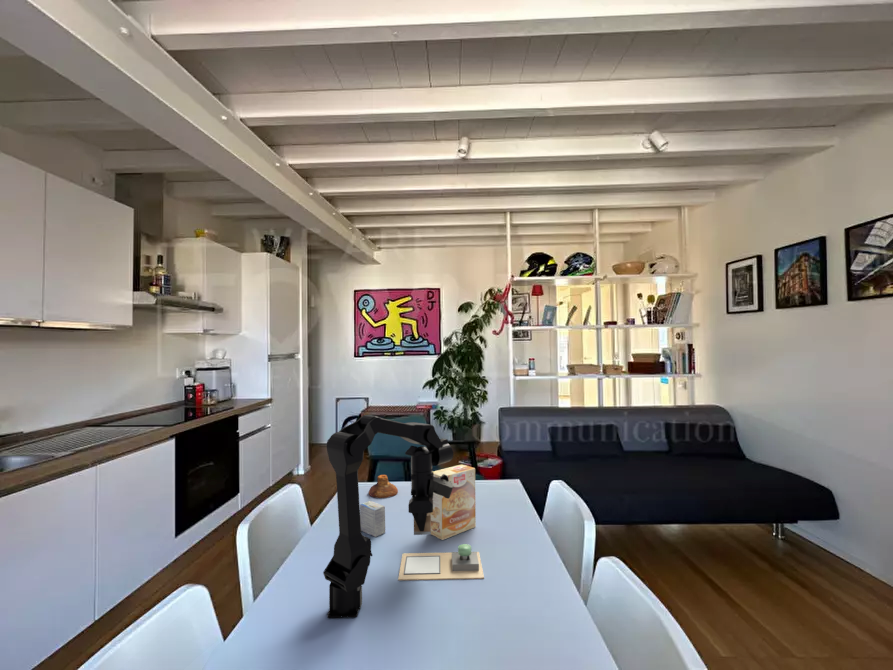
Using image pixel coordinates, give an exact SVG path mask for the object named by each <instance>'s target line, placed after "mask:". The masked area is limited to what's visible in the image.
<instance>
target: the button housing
mask: <svg viewBox="0 0 893 670" xmlns="http://www.w3.org/2000/svg"><path fill="white" fill-rule="evenodd" d="M451 552H452V571H479V562H478V557H477V552H478V551H471V555H469V556H467V560H463V556H461V555H459V554H458V551H451Z"/></svg>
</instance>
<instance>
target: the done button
mask: <svg viewBox="0 0 893 670" xmlns="http://www.w3.org/2000/svg"><path fill="white" fill-rule="evenodd" d="M457 552H458V554H459V555H461V556H463V560H467V556H469V555H471V552H472V546H471V545H470V544H469V543H467V544H466V543H463V544H460V545H458V546H457Z"/></svg>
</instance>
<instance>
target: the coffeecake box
mask: <svg viewBox="0 0 893 670" xmlns="http://www.w3.org/2000/svg"><path fill="white" fill-rule="evenodd" d="M432 472H433V477H437V478H438V477H439V478H440V477H441V476H442V475H443V474H445V475H448V479H449V482H450V481H451V483H453V489H452V492H451V495H450V498H445V497H444V496H441V495H438V494H436V493H434V492H433V499H432V500H433V512H431V535H432V536H434V537H436V538H437V539H439V540H442V541H444V540H446V539H449V538H451V537H454V536H456V535H458V534H462V533H465V532H466V531H468V530H472V529H474V528H476V525H477V523H476V518H477V517H476V468H475V467H472V466H471V465H470V466H469V465H466V464H458V465H453V466H450V467H445V468H442V469H438V470H435V471H433V470H432ZM431 535H430V536H431Z"/></svg>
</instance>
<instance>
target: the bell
mask: <svg viewBox="0 0 893 670" xmlns="http://www.w3.org/2000/svg"><path fill="white" fill-rule="evenodd" d="M398 493H399V489H398V488H397V486H396V485H394V484H393V483H391V482H389V478H388V475H387V474H380V475H378V476H377V482H376V483H375V484H373V485H372V486H371V487H370V488H369V490H368V495H369V496H370V497H372V498H375V499H387V498H392V497H394V496H396V495H397V494H398Z"/></svg>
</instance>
